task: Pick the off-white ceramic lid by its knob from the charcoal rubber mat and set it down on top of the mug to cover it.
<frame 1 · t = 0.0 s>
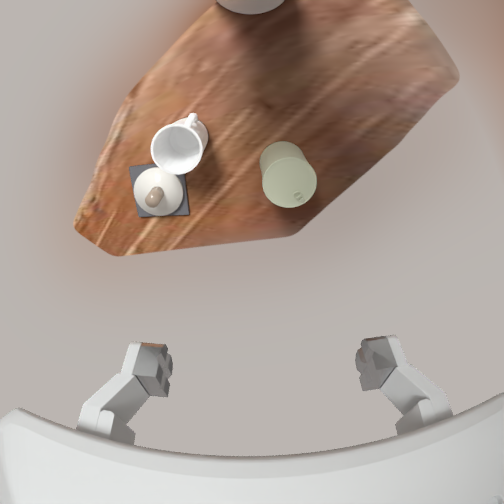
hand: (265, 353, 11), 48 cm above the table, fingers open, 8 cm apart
mat: (159, 189, 57), on the table
can: (282, 162, 54), on the table
mug: (190, 132, 50), on the table
lid: (158, 191, 56), point 1 cm above the table, touching mat
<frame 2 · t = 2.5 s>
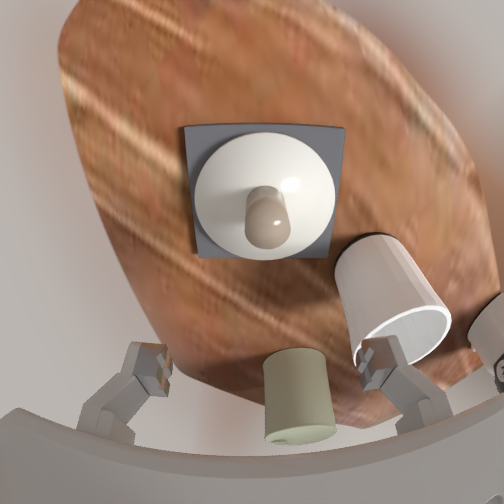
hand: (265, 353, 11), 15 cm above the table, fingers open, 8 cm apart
mat: (264, 194, 23), on the table
can: (294, 363, 38), on the table
mug: (375, 266, 28), on the table
lid: (264, 197, 22), point 1 cm above the table, touching mat
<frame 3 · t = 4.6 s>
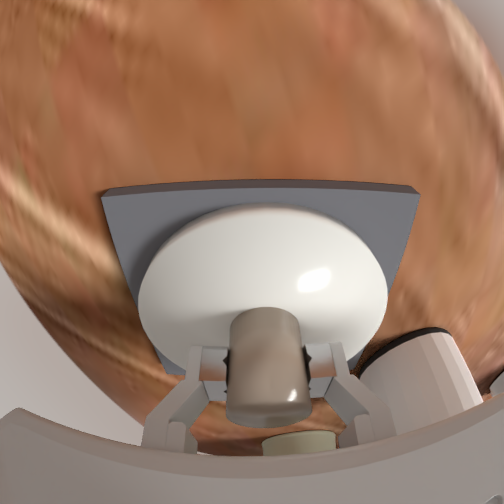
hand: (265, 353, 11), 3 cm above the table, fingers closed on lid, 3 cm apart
mat: (262, 300, 13), on the table
can: (298, 439, 29), on the table
mug: (411, 359, 18), on the table
lid: (263, 313, 13), point 1 cm above the table, touching gripper, mat
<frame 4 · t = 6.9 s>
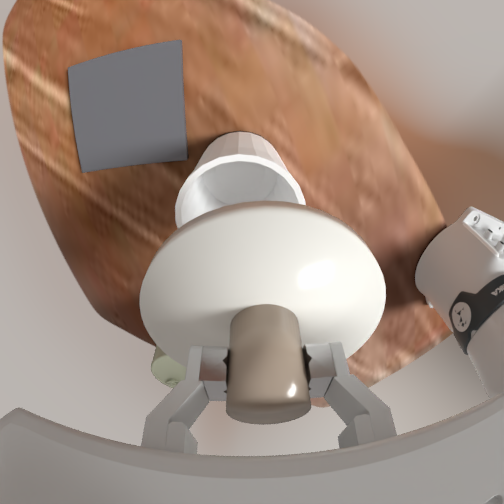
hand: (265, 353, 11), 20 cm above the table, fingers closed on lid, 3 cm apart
mat: (125, 107, 22), on the table
can: (199, 302, 38), on the table
mug: (249, 173, 27), on the table
lid: (263, 311, 13), point 18 cm above the table, touching gripper
when the fingers open (14 cm above the table, at t = 9.0 s): lid drops 1 cm, resting on mug.
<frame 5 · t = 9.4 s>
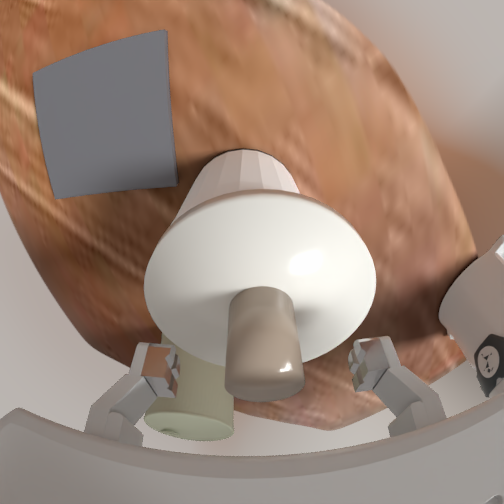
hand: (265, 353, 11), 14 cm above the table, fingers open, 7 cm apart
mat: (99, 119, 17), on the table
can: (199, 340, 33), on the table
mug: (256, 201, 22), on the table, touching lid
lid: (260, 295, 14), point 10 cm above the table, touching mug
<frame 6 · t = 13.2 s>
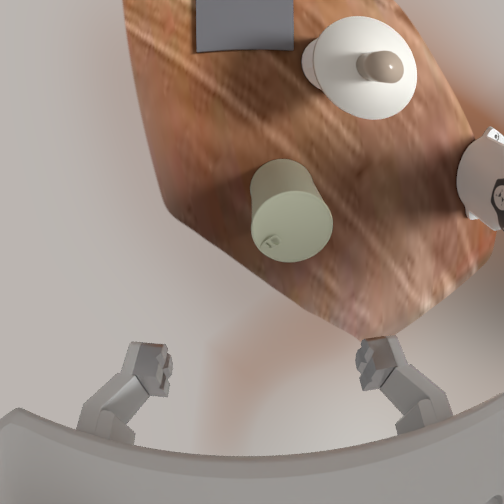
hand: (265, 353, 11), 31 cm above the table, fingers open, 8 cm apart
mat: (244, 9, 25), on the table
can: (281, 188, 40), on the table
mug: (336, 68, 29), on the table, touching lid
lid: (366, 67, 21), point 10 cm above the table, touching mug
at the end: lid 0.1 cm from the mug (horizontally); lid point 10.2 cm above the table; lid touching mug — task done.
